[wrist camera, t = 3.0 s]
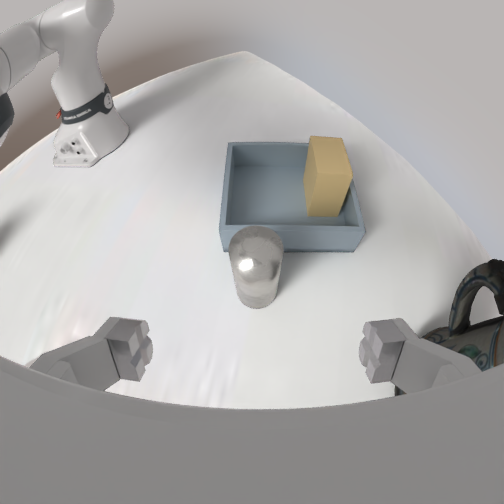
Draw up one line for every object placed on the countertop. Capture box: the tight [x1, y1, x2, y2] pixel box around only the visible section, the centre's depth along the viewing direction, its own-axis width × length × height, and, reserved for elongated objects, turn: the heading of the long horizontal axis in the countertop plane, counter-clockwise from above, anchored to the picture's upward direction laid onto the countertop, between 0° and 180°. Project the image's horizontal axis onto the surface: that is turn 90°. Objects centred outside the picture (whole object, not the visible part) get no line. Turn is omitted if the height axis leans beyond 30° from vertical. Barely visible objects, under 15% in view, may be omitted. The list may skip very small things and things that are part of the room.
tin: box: [228, 225, 284, 309], centre depth 34 cm, size 6×6×12 cm
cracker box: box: [303, 136, 353, 217], centre depth 41 cm, size 5×8×10 cm, turn 179°
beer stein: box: [395, 259, 504, 396], centre depth 20 cm, size 16×19×25 cm
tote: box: [219, 142, 366, 252], centre depth 43 cm, size 20×18×6 cm
